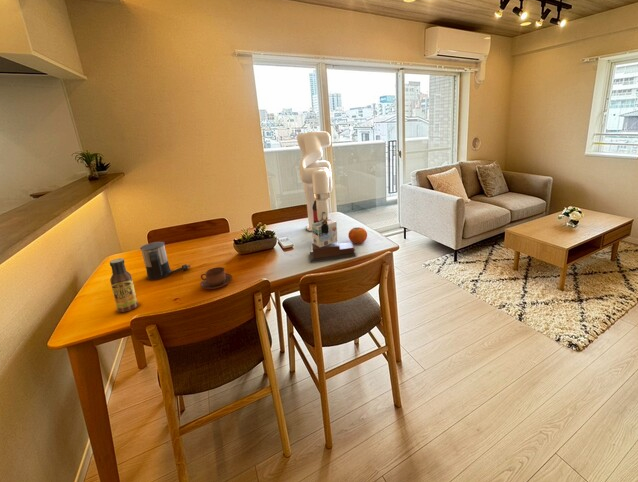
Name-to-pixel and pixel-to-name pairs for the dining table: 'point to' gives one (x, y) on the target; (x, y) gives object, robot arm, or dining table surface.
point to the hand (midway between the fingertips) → (324, 229)
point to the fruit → (357, 235)
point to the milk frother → (157, 261)
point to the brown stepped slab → (332, 251)
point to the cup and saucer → (215, 278)
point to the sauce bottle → (122, 286)
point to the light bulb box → (324, 238)
